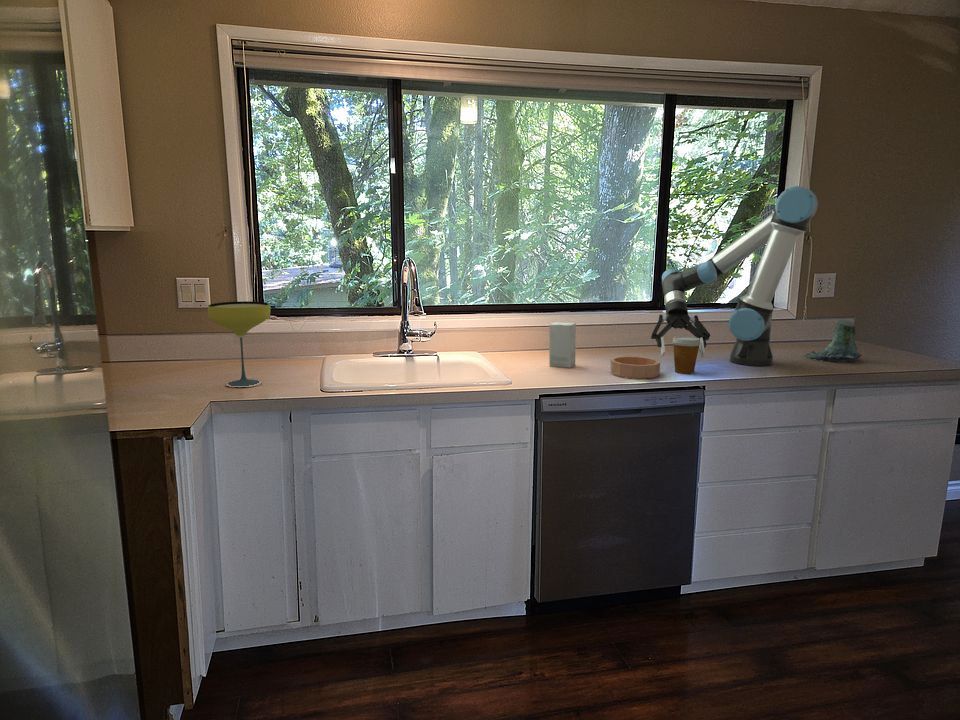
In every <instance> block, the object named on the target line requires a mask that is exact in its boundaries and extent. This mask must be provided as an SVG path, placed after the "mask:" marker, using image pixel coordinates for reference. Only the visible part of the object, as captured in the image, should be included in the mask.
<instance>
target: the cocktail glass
mask: <svg viewBox="0 0 960 720" xmlns="http://www.w3.org/2000/svg"><path fill="white" fill-rule="evenodd" d="M207 316H208V318H209V320H211V321H212V322H214V324H217V325H219V326H221V327H224V328H225V329H228V330H230V331H232V332H233V333H234V334H235V336H237V337H238V338H239V343H240V359H241V360H240V361H241V377H240V379H237V380H232V382H231V381H229V383H228V382H227V383H228V384H229V385H231V386H249V385H254V384H257V383H259V381H260V380H259V381H258V379H250V378H247V375H246V370H245V362H244V361H245V359H244V347H243V338H244V337H246V335H247V333H249V331H250V330H252V329H254V328H255V327H257V326H259V325H260V324H262V323H264V322H265V321H266V320H268V319H269V317H270V316H271V305H270V303H269V302H264V301H246V300H245V301H244V300H243V301H224V302H223V301H222V302H215V303H211V304H208V306H207Z"/></svg>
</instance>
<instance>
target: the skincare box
mask: <svg viewBox="0 0 960 720" xmlns="http://www.w3.org/2000/svg"><path fill="white" fill-rule="evenodd" d="M576 324H577V323H576V322H560V321H559V322H558V321H557V322H556V321H554V322H552V323H550V324H549V326H548V327H549V329H548V330H549V332H548V333H549V334H548V335H549V342H548V343H549V345H548V346H549V347H548V349H549V352H548V353H549V355H548V356H549V358H548V359H549V363H548V364H549V367H551V366H552V368H554V367H556V368H565V369H567V368H568V369H572V368H573V367H574V366H576V347H577V346H576V345H577V344H576V340H577V339H576V338H577V336H576V335H577V334H576V332H577V331H576V329H577V328H576Z"/></svg>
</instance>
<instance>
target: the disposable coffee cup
mask: <svg viewBox="0 0 960 720" xmlns="http://www.w3.org/2000/svg"><path fill="white" fill-rule="evenodd" d="M671 343H672V346H673V359H674V362H673V364H674V372H675V373H677V374H683V375H691V374H694V373H695V369H696V368H695V367H696V363H697V358H698V353H699V350H700V348H699V345H700V344H701V342H700V339H699V338H697V337H695V336H687V335H685V336H684V335H679V336H678V335H677V336H674V337H673V338H672V341H671Z"/></svg>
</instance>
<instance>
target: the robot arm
mask: <svg viewBox="0 0 960 720" xmlns="http://www.w3.org/2000/svg"><path fill="white" fill-rule="evenodd" d="M818 208H819V199H818V196H817V195H816V194H815V192H813V190H811V189H809V188H807V187H805V186H801V185H800V186H799V185H797V186H796V185H795V186H791V187H788V188H786V189H785V190H784V191H782V192H781V193H780V195H779V196H777V198H776V201H775V205H774V208H773V209H772V210H771V214H769V216H767V217H765V218H764V219H763V220H761V221H760V222H759V223H757V224H756V225H755V226H753V227H752V228H750V229H749V230H748V231H746V232H745V233H744V234H742V235H741V236H739V237H738V238H737V239H735V240H734V241H733V242H731V243H730V244H728V245H727V246H726V247H725V248H723V249H722V250H720V251H719V252H717V253H716V254H715V255H713V256H712V257H711V258H710V259H708V260H706V261H705V262H700V263H699V264H697V265H694V266H692V267H689V268H687V269H685V270H680V269H678V268H669V269H666V270H665V271H664V272H663V273H662V275H661V286H662V293H663V298H664V300H663V301H664V307H665V314H666V315H665V316H663V315H664V314H659V315H658V318H657V322H656V323H657V324H656V325H655V327H654V329H653V330H652V333H651V336H650V339H651V340H655V341H656V347H658V348H660V355H661V356H660V357H664V356H665V355H666V348H665V339H664V336H665V335H666V334H667V332H669V331H670V330H671V329H683V328H684V330H686V331H688V332H689V333H691V335H693V337H696V338H699V339H700V342H701V344H700V345H699V353H700V358H704V356H705V354H706V351H705V349H706V347H707V341H709V340H710V337H711V334H710V332H709V330H708V329H707V328H706V327H705V326H704V324H703V323H702V322H701V321H700V320H699V316H698V315H694V316H690V315H689V311H688V305H687V299H686V292H688V291H691V290H694V289H696V288H698V287H701V286H705V285H709V284H712V283H714V282H716V281H717V280H718V279H719V278H720V277H721V276H723V275H725V273H727V272H728V271H729V270H731V269H732V268H734V267H735V266H737V265H738V264H739V263H741V262H743V260H745V259H747V258H748V257H750V256H751V255H753V254H754V253H755V252H757V251H758V250H760V249H761V248H763V246H764V249H763V252H762V254H761V257H760V259H759V262H758V264H757V266H756V269H755V272H754V274H753V277H752V279H751V282H750V284H749V287H748V288H747V290H746V291H747V292H746V294H745V295H742V296H740V297H739V299H738V302H737V304H736V307H735V309H734V312H732V314H730V317H729V319H728V328H729V331H730V333H731V334H732V336H733V337H735V339H736V341H735V343H734V345H733V347H732V349H731V352H730V353H729V361H730V362H732V363H733V362H734V364H737V365H743V366H744V365H746V366H752V367H754V366H755V367H756V366H757V367H758V366H760V367H763V366H765V367H766V366H772V365H773V364H774V355H773V352H772V348H771V344H770V343H771V342H770V341H771V330H772V321H773V320H772V319H773V312H774V307H773V306H774V305H773V303H772V301H773V299H774V296H775V294H776V291H777V289H778V287H779V284H780V282H781V279H782V276H783V274H784V273H785V269H786V267H787V265H788V263H789V260H790V257H791V255H792V252H793V250H794V248H795V246H796V243H797V242H798V241H797V240H798V238H799V236H801V235H802V234H804V233H806V232H807V229H808V227H809V225H810V223H811V220H812V218H813V217H814V216H815V214H816V213H817V212H818ZM664 322H666V323H667V324H666V325H665V326H664V327H663V328H662V329H661V325H662V323H664ZM659 329H661V330H660V332H659ZM658 332H659V333H658Z"/></svg>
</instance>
